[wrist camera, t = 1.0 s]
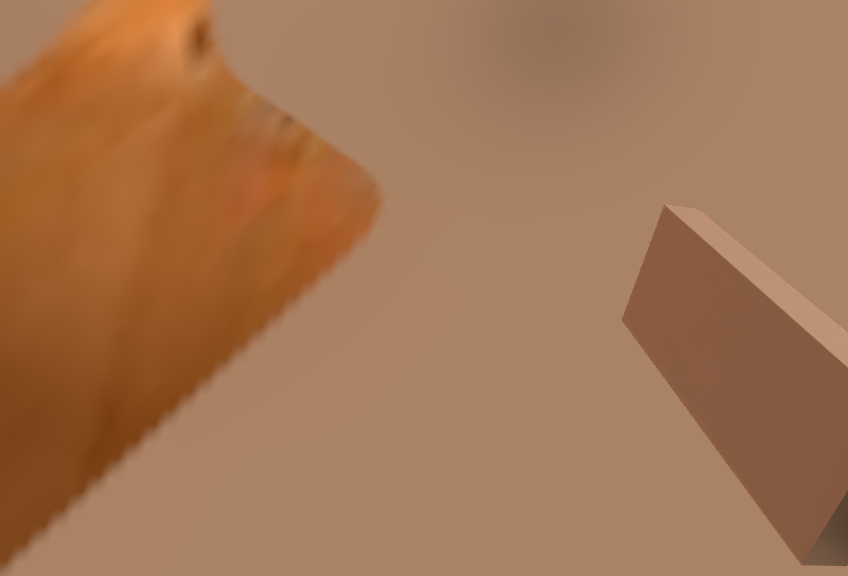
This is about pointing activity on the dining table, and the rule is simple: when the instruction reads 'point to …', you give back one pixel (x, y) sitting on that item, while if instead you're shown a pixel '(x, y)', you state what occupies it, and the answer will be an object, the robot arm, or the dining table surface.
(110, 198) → the dining table surface
